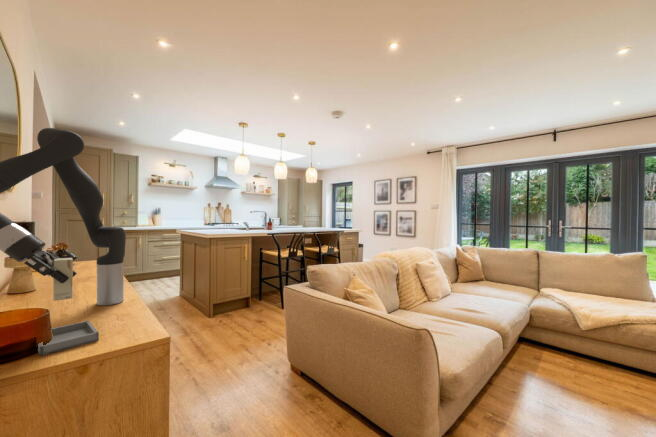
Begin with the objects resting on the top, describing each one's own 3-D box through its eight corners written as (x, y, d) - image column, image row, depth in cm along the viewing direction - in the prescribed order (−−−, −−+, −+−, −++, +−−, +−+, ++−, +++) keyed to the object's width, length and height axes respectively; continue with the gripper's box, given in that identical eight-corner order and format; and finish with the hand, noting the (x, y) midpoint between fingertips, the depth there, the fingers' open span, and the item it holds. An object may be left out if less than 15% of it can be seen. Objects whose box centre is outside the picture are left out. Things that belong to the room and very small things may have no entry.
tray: (35, 340, 85) (35, 332, 85) (88, 327, 95) (88, 320, 95) (39, 356, 76) (39, 347, 76) (98, 340, 85) (98, 332, 85)
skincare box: (72, 298, 86) (73, 259, 86) (52, 301, 83) (53, 260, 83) (72, 294, 90) (72, 257, 90) (53, 297, 87) (54, 258, 87)
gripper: (18, 234, 76) (74, 273, 82) (40, 231, 89) (87, 265, 95) (-10, 254, 74) (49, 293, 80) (16, 249, 86) (66, 282, 92)
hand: (70, 278), depth 87 cm, fingers closed on skincare box, 7 cm apart
